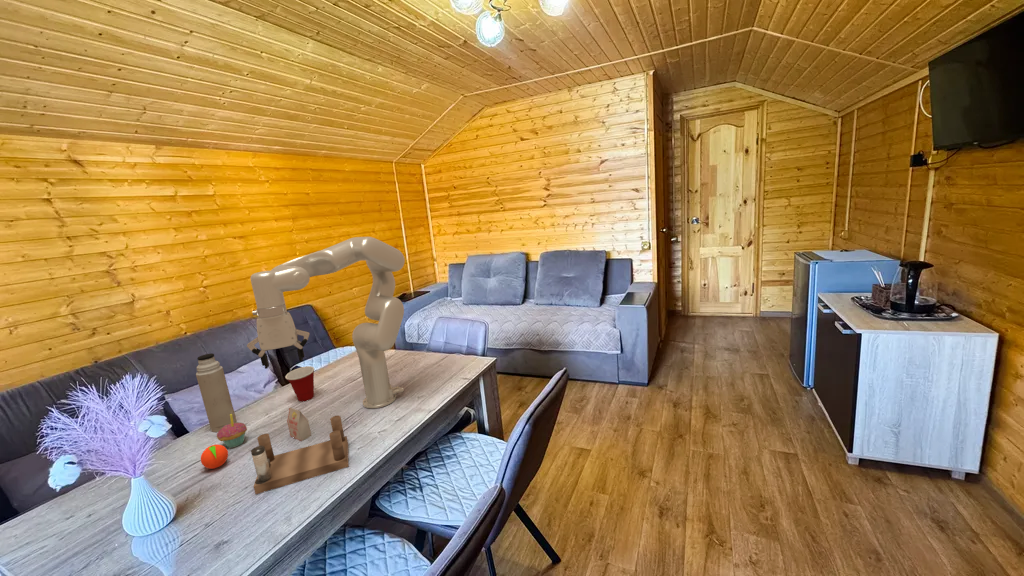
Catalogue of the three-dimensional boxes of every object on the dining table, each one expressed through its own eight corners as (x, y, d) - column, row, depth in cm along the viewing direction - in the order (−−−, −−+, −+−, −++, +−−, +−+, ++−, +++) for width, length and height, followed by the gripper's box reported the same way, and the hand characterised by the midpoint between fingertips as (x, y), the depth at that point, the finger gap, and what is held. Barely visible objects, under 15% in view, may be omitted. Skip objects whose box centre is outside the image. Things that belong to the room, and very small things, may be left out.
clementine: (233, 466, 128) (227, 445, 127) (206, 478, 123) (200, 456, 122) (228, 456, 134) (222, 436, 132) (202, 467, 129) (196, 447, 128)
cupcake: (255, 438, 144) (247, 406, 141) (232, 452, 136) (223, 419, 133) (237, 435, 146) (229, 404, 144) (214, 449, 139) (204, 417, 136)
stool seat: (348, 442, 135) (342, 413, 133) (348, 466, 122) (341, 434, 120) (264, 466, 127) (256, 435, 124) (255, 494, 114) (246, 460, 112)
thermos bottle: (206, 433, 150) (186, 361, 144) (219, 422, 158) (200, 352, 152) (229, 430, 151) (209, 358, 145) (241, 419, 158) (223, 350, 153)
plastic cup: (285, 403, 168) (278, 376, 166) (306, 391, 178) (301, 365, 175) (304, 406, 164) (298, 378, 161) (325, 393, 174) (320, 367, 171)
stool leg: (260, 465, 122) (253, 438, 120) (273, 461, 123) (266, 434, 121) (257, 483, 114) (250, 454, 112) (271, 478, 115) (263, 449, 113)
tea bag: (300, 431, 145) (295, 405, 143) (311, 435, 142) (305, 408, 139) (290, 436, 142) (284, 409, 140) (301, 441, 139) (295, 414, 136)
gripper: (237, 319, 121) (250, 374, 124) (302, 308, 127) (313, 361, 130) (243, 314, 128) (255, 366, 131) (304, 303, 134) (315, 353, 137)
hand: (284, 363), depth 131 cm, fingers open, 9 cm apart
